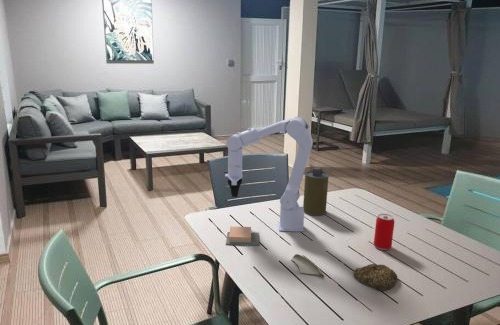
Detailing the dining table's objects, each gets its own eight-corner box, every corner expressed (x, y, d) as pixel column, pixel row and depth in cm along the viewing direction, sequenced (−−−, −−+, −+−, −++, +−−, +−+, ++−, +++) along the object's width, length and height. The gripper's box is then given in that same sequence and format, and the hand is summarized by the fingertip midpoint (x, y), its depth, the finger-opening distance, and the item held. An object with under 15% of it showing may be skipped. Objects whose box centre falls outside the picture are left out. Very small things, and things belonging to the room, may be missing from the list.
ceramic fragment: (324, 277, 126) (325, 266, 125) (312, 282, 123) (313, 271, 122) (295, 259, 137) (295, 249, 136) (283, 264, 134) (283, 253, 133)
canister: (322, 217, 171) (325, 172, 166) (299, 213, 175) (301, 169, 170) (329, 209, 180) (332, 166, 175) (306, 205, 185) (309, 163, 179)
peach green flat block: (251, 226, 154) (250, 237, 146) (251, 231, 155) (250, 242, 146) (230, 226, 154) (229, 236, 146) (230, 231, 155) (229, 241, 146)
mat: (258, 233, 154) (258, 232, 154) (259, 245, 145) (259, 244, 145) (227, 232, 154) (227, 231, 154) (225, 244, 145) (225, 243, 145)
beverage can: (392, 245, 147) (396, 215, 144) (390, 252, 142) (394, 221, 139) (374, 241, 150) (378, 211, 147) (372, 248, 144) (375, 217, 141)
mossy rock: (380, 295, 117) (382, 280, 116) (347, 276, 127) (348, 262, 125) (405, 281, 124) (407, 267, 123) (373, 264, 134) (374, 251, 133)
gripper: (226, 159, 167) (226, 190, 171) (223, 169, 153) (223, 202, 157) (243, 160, 167) (242, 190, 171) (242, 169, 153) (241, 203, 157)
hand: (234, 196), depth 164 cm, fingers closed
